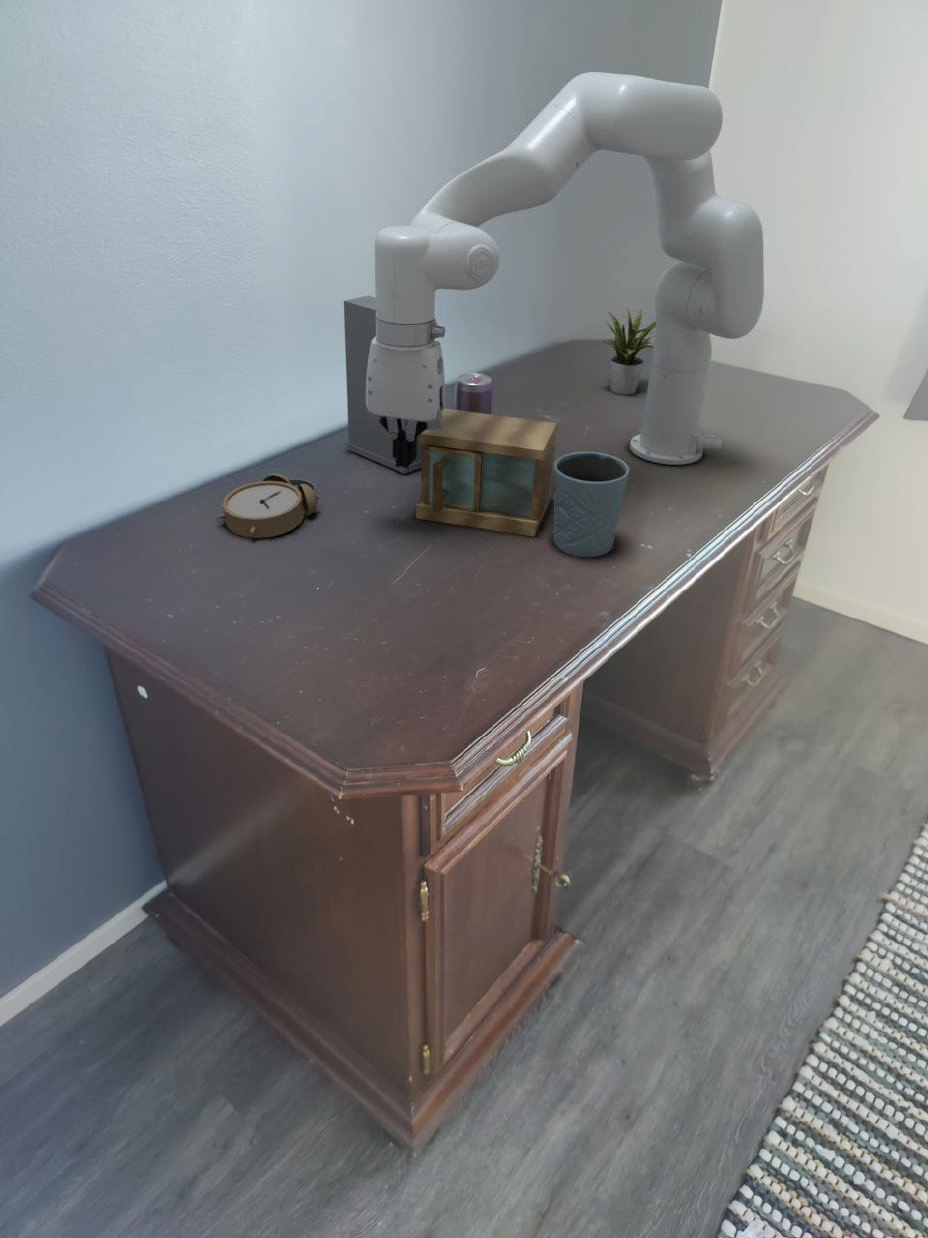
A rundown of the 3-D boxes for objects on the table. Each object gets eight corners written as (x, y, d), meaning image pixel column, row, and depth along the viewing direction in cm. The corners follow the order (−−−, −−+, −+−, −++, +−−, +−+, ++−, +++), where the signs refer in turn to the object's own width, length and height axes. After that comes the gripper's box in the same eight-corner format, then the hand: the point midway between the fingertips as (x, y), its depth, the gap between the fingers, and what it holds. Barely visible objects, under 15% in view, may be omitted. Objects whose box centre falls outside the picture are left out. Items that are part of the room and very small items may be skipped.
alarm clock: (204, 504, 128) (279, 456, 136) (213, 532, 131) (286, 483, 139) (258, 528, 122) (333, 477, 131) (266, 557, 125) (338, 504, 134)
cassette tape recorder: (430, 465, 149) (433, 311, 136) (404, 475, 145) (405, 319, 132) (374, 441, 157) (371, 294, 143) (347, 451, 153) (342, 300, 139)
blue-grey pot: (619, 531, 132) (631, 455, 125) (615, 565, 123) (627, 485, 117) (551, 523, 133) (559, 447, 127) (542, 555, 125) (550, 476, 118)
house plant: (666, 405, 177) (680, 322, 168) (596, 403, 177) (606, 319, 168) (654, 382, 189) (666, 302, 180) (589, 379, 189) (598, 300, 180)
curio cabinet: (549, 502, 139) (557, 422, 132) (534, 536, 129) (542, 452, 122) (438, 486, 143) (439, 407, 135) (416, 518, 133) (416, 435, 126)
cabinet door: (479, 511, 132) (482, 451, 126) (470, 527, 127) (473, 466, 122) (424, 503, 133) (425, 443, 128) (414, 518, 129) (414, 457, 124)
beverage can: (493, 464, 151) (498, 376, 142) (479, 477, 146) (483, 387, 138) (461, 457, 153) (464, 370, 144) (446, 469, 148) (449, 380, 140)
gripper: (468, 330, 117) (462, 461, 127) (360, 318, 120) (363, 446, 130) (453, 346, 111) (448, 482, 121) (339, 332, 114) (344, 466, 124)
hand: (404, 463), depth 125 cm, fingers closed
